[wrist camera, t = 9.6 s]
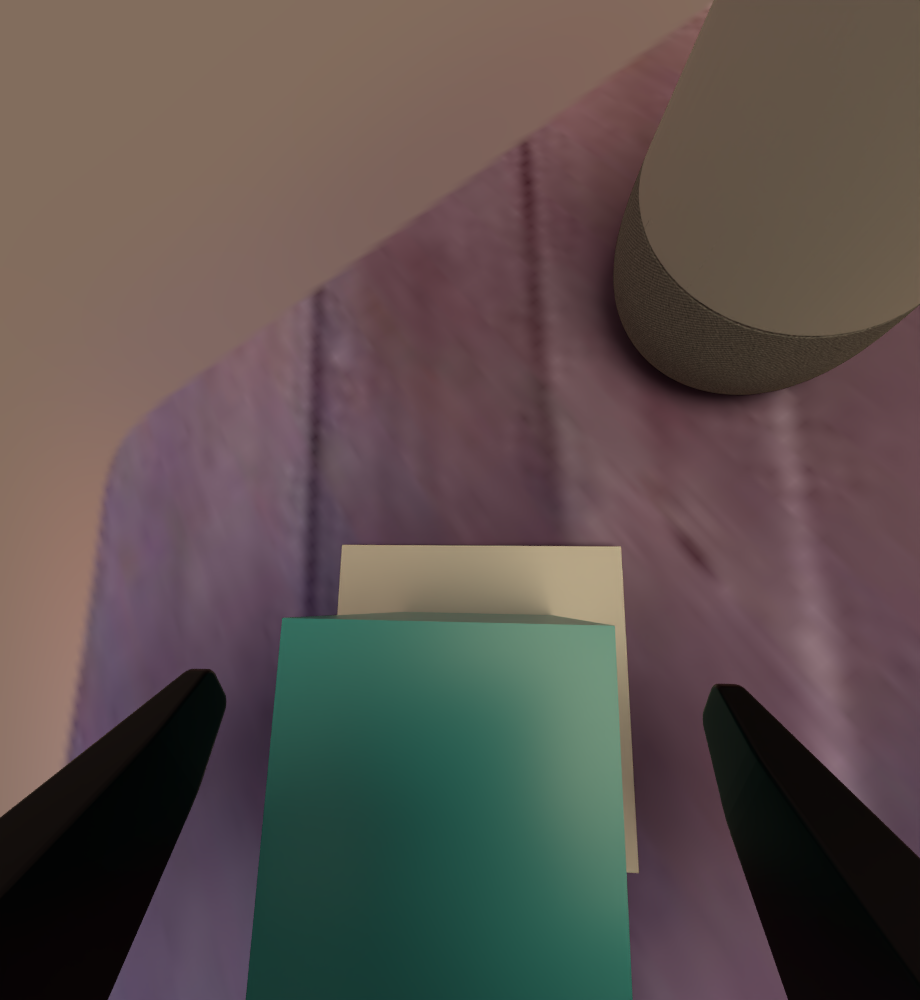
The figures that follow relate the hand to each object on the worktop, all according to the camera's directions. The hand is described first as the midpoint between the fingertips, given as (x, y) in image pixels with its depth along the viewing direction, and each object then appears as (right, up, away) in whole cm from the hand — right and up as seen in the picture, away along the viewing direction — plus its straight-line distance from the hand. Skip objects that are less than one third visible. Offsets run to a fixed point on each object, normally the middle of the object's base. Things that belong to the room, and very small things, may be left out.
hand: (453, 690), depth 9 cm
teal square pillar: (+1, -3, +8) cm, 8 cm away
